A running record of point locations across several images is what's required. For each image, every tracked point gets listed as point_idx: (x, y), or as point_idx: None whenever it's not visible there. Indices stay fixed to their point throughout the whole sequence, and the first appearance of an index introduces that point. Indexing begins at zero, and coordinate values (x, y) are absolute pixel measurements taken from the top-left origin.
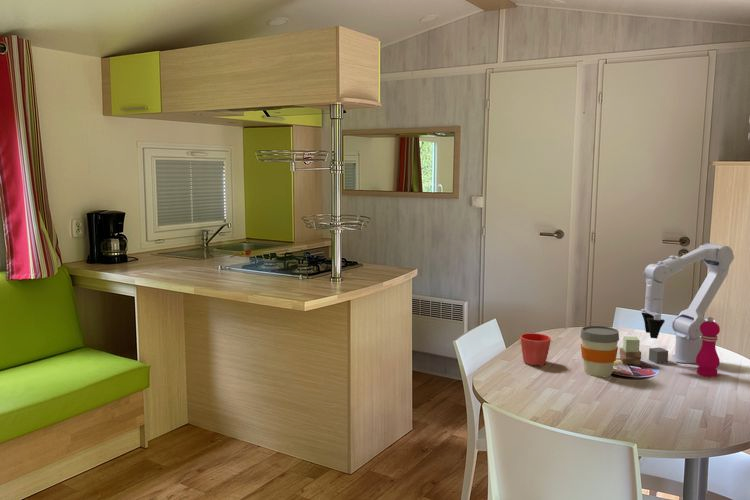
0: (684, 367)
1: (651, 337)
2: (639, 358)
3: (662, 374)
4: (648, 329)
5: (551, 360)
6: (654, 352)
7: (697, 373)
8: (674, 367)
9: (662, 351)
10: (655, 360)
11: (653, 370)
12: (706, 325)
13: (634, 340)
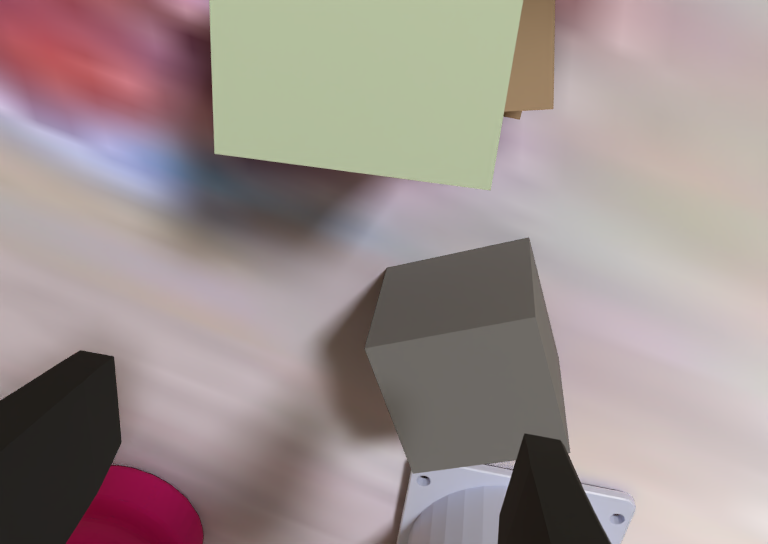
0: (287, 450)
1: (65, 362)
2: None
3: (17, 180)
4: (518, 516)
5: None
6: (423, 323)
7: (117, 466)
8: (275, 375)
9: (388, 408)
10: (406, 277)
11: (132, 140)
12: None
13: (213, 41)
